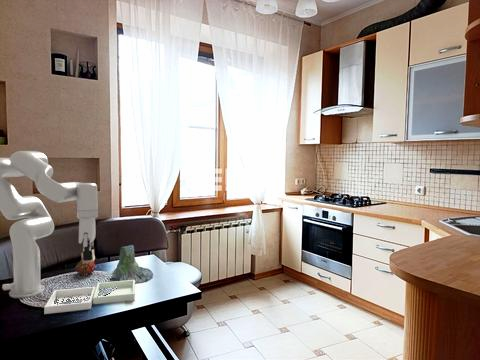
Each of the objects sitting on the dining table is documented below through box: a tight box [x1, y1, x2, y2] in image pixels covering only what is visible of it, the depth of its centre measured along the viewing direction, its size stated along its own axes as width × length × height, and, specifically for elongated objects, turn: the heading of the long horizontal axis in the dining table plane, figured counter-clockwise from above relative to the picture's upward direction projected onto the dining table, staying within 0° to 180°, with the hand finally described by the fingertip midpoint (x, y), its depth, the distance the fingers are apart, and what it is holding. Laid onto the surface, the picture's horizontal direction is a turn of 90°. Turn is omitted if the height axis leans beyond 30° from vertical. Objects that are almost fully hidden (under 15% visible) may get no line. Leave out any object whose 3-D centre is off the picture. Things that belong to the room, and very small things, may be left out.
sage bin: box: [92, 280, 136, 305], centre depth 135 cm, size 16×16×3 cm
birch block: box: [80, 248, 96, 263], centre depth 128 cm, size 4×4×4 cm
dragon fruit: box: [74, 259, 96, 276], centre depth 159 cm, size 8×8×12 cm
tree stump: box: [111, 244, 154, 285], centre depth 157 cm, size 18×20×18 cm
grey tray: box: [43, 286, 97, 315], centre depth 127 cm, size 16×16×3 cm
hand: (88, 257), depth 129 cm, fingers closed on birch block, 4 cm apart
